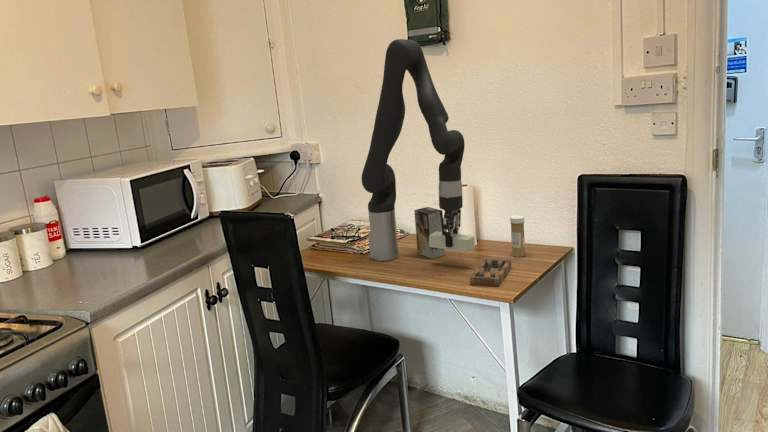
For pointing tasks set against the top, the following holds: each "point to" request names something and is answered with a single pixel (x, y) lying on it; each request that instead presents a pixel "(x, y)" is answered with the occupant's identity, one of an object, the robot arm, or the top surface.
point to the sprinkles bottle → (517, 235)
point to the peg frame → (491, 264)
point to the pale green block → (459, 242)
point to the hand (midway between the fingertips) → (452, 244)
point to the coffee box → (428, 230)
